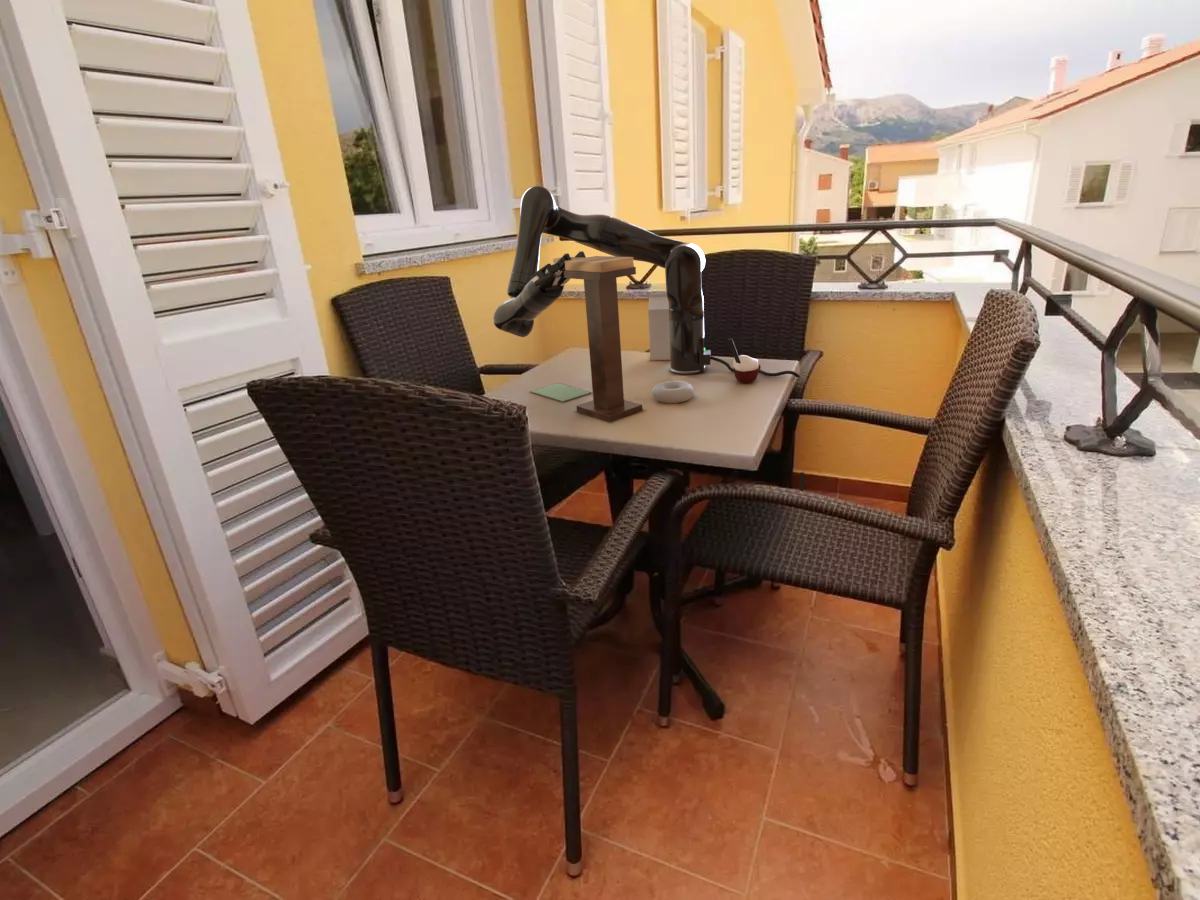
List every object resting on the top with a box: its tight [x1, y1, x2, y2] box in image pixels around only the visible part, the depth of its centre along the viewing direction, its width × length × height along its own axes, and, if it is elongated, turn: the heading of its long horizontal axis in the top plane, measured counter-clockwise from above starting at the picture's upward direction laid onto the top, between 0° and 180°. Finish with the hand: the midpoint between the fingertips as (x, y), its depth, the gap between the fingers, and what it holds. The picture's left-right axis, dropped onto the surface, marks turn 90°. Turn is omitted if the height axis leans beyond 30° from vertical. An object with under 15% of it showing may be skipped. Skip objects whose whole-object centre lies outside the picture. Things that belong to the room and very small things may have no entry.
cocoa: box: [727, 337, 762, 384], centre depth 157 cm, size 10×6×12 cm, turn 96°
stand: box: [564, 266, 644, 423], centre depth 139 cm, size 12×10×32 cm
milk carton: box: [647, 292, 670, 361], centre depth 184 cm, size 7×7×19 cm
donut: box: [651, 380, 695, 404], centre depth 150 cm, size 10×4×10 cm
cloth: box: [530, 382, 592, 403], centre depth 162 cm, size 14×9×1 cm, turn 40°
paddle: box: [552, 255, 635, 273], centre depth 135 cm, size 20×9×2 cm, turn 40°
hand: (576, 256), depth 138 cm, fingers closed on paddle, 3 cm apart
